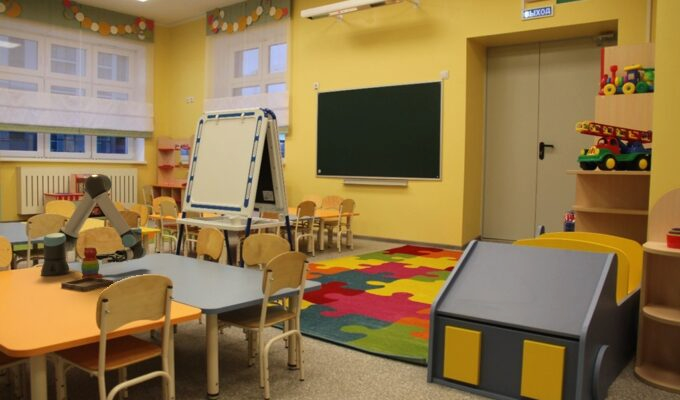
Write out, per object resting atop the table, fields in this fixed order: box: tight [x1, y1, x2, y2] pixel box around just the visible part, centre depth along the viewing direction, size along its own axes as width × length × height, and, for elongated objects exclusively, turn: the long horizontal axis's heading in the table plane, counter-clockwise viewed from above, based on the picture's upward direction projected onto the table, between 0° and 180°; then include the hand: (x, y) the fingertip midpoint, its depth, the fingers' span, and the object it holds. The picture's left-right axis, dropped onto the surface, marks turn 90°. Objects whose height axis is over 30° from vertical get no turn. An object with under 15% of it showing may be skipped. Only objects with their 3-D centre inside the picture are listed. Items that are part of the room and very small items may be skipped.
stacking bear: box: [80, 247, 104, 279], centre depth 316 cm, size 11×10×18 cm
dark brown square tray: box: [60, 277, 114, 292], centre depth 296 cm, size 18×18×2 cm
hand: (94, 260), depth 317 cm, fingers open, 13 cm apart
